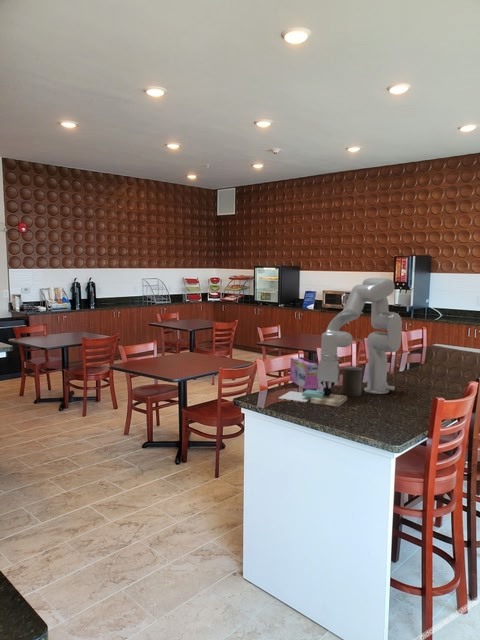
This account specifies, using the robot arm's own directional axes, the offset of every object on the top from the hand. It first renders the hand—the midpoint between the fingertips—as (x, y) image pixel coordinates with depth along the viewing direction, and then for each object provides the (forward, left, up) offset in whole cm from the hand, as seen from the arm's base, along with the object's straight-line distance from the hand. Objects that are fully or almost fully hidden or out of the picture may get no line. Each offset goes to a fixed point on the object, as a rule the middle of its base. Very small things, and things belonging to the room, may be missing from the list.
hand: (327, 395), depth 234 cm
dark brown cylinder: (-7, -20, -3) cm, 21 cm away
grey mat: (+15, 0, -3) cm, 16 cm away
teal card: (+6, 0, -1) cm, 7 cm away
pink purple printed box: (+23, -29, -3) cm, 37 cm away
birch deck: (-1, 0, -3) cm, 3 cm away
